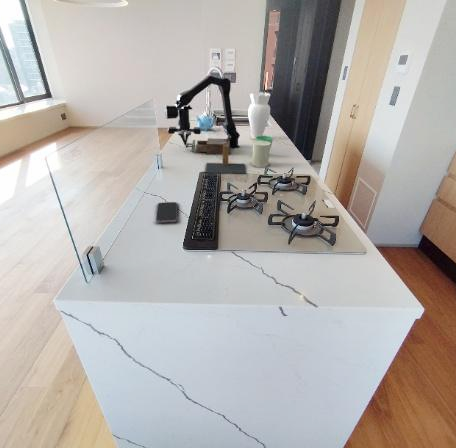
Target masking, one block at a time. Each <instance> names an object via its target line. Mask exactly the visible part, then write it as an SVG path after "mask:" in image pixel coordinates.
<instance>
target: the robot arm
mask: <svg viewBox="0 0 456 448" xmlns="http://www.w3.org/2000/svg"><path fill="white" fill-rule="evenodd" d="M231 84H232V82H231V80H230V79H229V78H228V77H223V76H222V77H221V76H220V77H215V76H213V75H206V77H205V78H203V79H202V80H201V81H199V82H197V84H195V85H194V86H192V87H191V88H190V89H187V90H185V91H183V92H180V93H179V94H177V97H176V101H175V103H174V104H173V105H165V109H164V114H165V119H166V120H170V119H171V120H172V119H178V121H177V122H178V123H177V125H178V126H179V128H177V126H169V127H168V129H167V134H169V135H170V134H171V135H172V134H175V133H177V135H178V136H179V137H180V138H181V140H182V142H183V144H184V146H186V144H187V143H188V140H189V137H190V136H191V135H192V133H193V134H195V135H201V133H202V130H201V128H200V127H198V126H193V128H191V122H190V110H191V111H192V110H193V107H192V106H191V105H190V103H192V101H193V99H194V98H195V97H196V96H197V95H199V94H200V93H201V92H203V91H204V90H205V89H206V88H208V87H209V86H211V85H215V86H217V88H218V91H219V93H220V96H221V100H222V107H223V116H224V122H223V123H222V130H223V131H224V133H226V136H227V138H226V139H230V149H235V148H240V145H239V138H240V136H241V135H240V133H239V132H238V131H237V126H236V124H235V122H234V120H233V114H232V113H233V111H232V105H231V104H232V103H231V96H230V94H231V90H232V89H231V87H232V86H231Z"/></svg>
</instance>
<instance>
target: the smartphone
mask: <svg viewBox="0 0 456 448" xmlns="http://www.w3.org/2000/svg"><path fill="white" fill-rule="evenodd" d="M177 221H178V203H177V201H176V202H175V201H173V202H172V201H171V202H169V201H167V202H158V204H157V209H156V216H155V222H156V223H157V224H158V223H160V224H161V223H176V222H177Z"/></svg>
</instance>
